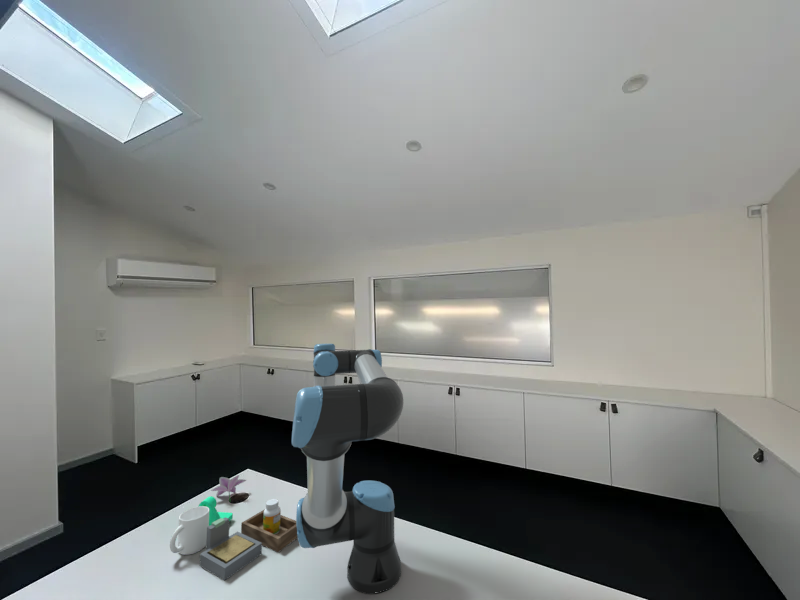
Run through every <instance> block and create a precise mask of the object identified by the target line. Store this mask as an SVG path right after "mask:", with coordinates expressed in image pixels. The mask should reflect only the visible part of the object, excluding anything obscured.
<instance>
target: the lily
mask: <svg viewBox="0 0 800 600" xmlns="http://www.w3.org/2000/svg"><path fill="white" fill-rule="evenodd" d="M239 477H240V475H236V476H234V477H233V478H231V479H230V478H228V477H224V476H221V477H219V481H218V482H219V486H216V487H214V488H213V489H211V492H217V493H216V497H220V496H221V495H223V494H224V493H226V492H227V493H228V498H229V499H228V500H229V503H231V495H230V494H231V493H234V494H235V493H236V491H237V490H236V489H237V488H236V487H237V486H239V485H240V484H243V483H244V482H246V481H247V479H244V478H243V479H239Z"/></svg>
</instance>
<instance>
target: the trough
mask: <svg viewBox="0 0 800 600" xmlns="http://www.w3.org/2000/svg"><path fill="white" fill-rule="evenodd" d="M265 509H266V508H265ZM265 509H263V510H260V511H259V512H258V513H256V514H254V515H253V516H251V517H249V518H247V519H245V520H244V521H242V522H241V524H240V525H241V528H240V529H241V530H240V533H242V534H244V535H246V536H248V537H250V538H253V539H255V540H257V541H259V542H261V543H262V547H265V548H267V549H269V550H271V551H273V552H276V553H279V552H281V551H282V550H284V549H285V548H286V547H288V546H289V545H290V544H291V543H293V542H295V541H296V540H298V537H297V526H296V519H292V518H290V517H287V516H285V515H283V514H280V531H279V533H278V534H276V535H275V534H272V533H270V532H268V531H265V530H263V514H264V510H265Z"/></svg>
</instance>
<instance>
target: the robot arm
mask: <svg viewBox="0 0 800 600" xmlns="http://www.w3.org/2000/svg"><path fill="white" fill-rule="evenodd" d="M382 357H383V356H382V353H381V351H380V350H379V349H372V348H371V349H369V348H368V349H357V350H356V349H354V350H353V349H351V350H349V349H348V350H336V344H334V343H316V344H314V346H313V362H312V367H313V386H310V387H303V388H301V389H300V390H299V391H298V392H297V394H296V398H295V403H294V413H293V420H292V431H291V446H293V448H298V449H300V450H301V452H302V453H303V454H304V456H305V457H306V470H307V471H306V474H307V475H306V476H307V477H306V478H307V479H306V480H307V481H306V482H307V493H306V494H305V496H304V497H301V498H300V499H299V500H298V502H297V505H296V516H295V517H296V519H295V521H296V526H297V537H298V538H297V541H298V544H299V546H300V547H301V548H303V549H309V548H310V549H315V548H317V547H318V548H319V547H323V546H327V545H329V546H330V545H333V544H340V543H345V542H350V541H351V542H352V541H353V545H352V549H351V552H350V555H349V559H348V562H347V568H346V569H347V571H346V572H347V574H346V575H347V577H346V578H347V581H348V583H349V585H350V586H351V587H352V588H353V589H354V590H357V591H358V592H360V591H361V593H363V592H364V593H363V594H370V593H373V594H376V593H375V592H380V591H383V590H386V589H388V590H390V589H392V588H393V587H394V586H395V585H397V584H398V582H399V580H400V578H401V576H402V561H401V557H400V555H399V552H398V549H397V545H396V542H395V507H396V506H395V505H396V504H395V500H394V499H395V498H394V493H393V492H394V491H393V490H392V488H391V487H390V486H389V485H387V484H386V483H383V482H381V481H379V480H378V481H377V480H361V481H359V482H356V483H354V486H353V487H352V490H351V491H344V489H343V481H344V466H345V454H346V453H347V452H348V451H349V450H350V447H351V445H352V442H361V441H362V442H363V441H371V440H374V439H377V438H379V437H382V436H384V435H385V434H387V433H388V432H389V431H390V430H391V429H392V428H393V427H394V426H395V425H396V423H398V421H399V419H400V417H401V415H402V412H403V409H404V395H403V391H402V390H401V387H400V385H398V383H397V382H396V381H395V380H394V379H392V378H390V377H388V376H387V374H386V372H385V371H384V369H383V368H382V364H383V360H382V359H383V358H382ZM340 374H342V375H343V374H345V375H346V374H356V376H357V379H358V381H359V383H358V384H356V383H355V384H342V385H341V384H340V385H336V375H340ZM393 585H394V586H393ZM392 586H393V587H392ZM389 588H390V589H389ZM386 591H387V590H386ZM380 593H381V592H380Z"/></svg>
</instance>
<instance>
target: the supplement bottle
mask: <svg viewBox="0 0 800 600" xmlns="http://www.w3.org/2000/svg"><path fill="white" fill-rule="evenodd" d="M263 510H264V509H263ZM281 511H282V510H281V507H280V506H279V500H278V499H277V498H272V499H267V501H265V510H264V514H263V530H265V531H268V532H270V533H272V534H275V535H276V534H278V533H279V531H280V515H282V513H281Z"/></svg>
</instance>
